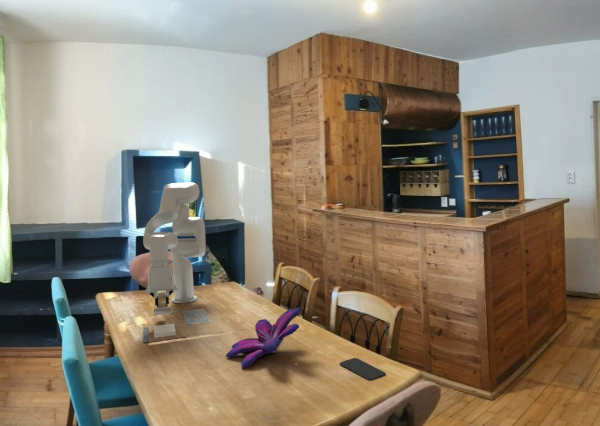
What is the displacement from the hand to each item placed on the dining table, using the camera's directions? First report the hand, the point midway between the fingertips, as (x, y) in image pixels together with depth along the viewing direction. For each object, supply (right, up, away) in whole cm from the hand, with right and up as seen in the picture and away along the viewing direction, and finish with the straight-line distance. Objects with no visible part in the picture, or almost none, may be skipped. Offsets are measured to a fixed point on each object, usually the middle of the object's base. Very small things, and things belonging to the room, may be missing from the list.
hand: (162, 306), depth 191 cm
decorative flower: (+47, -10, -34) cm, 59 cm away
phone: (+78, -10, -49) cm, 93 cm away
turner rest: (+13, -7, +8) cm, 16 cm away
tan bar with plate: (0, -1, 0) cm, 1 cm away
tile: (+5, -7, -12) cm, 15 cm away
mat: (+4, -9, -10) cm, 14 cm away
